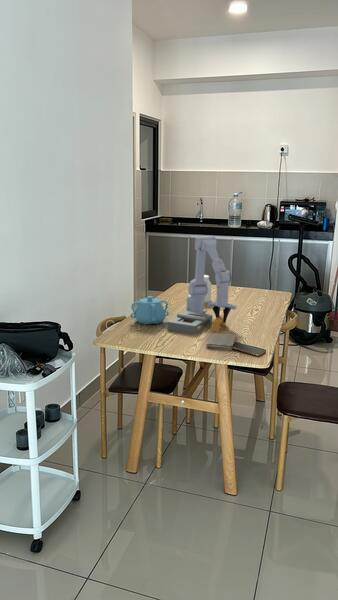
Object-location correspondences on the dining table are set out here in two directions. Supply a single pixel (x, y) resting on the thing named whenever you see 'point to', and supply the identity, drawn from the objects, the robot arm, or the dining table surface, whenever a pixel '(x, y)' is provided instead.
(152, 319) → the decorative pot
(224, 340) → the washcloth
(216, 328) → the notched orange plank
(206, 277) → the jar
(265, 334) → the dining table surface
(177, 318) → the grey frame
